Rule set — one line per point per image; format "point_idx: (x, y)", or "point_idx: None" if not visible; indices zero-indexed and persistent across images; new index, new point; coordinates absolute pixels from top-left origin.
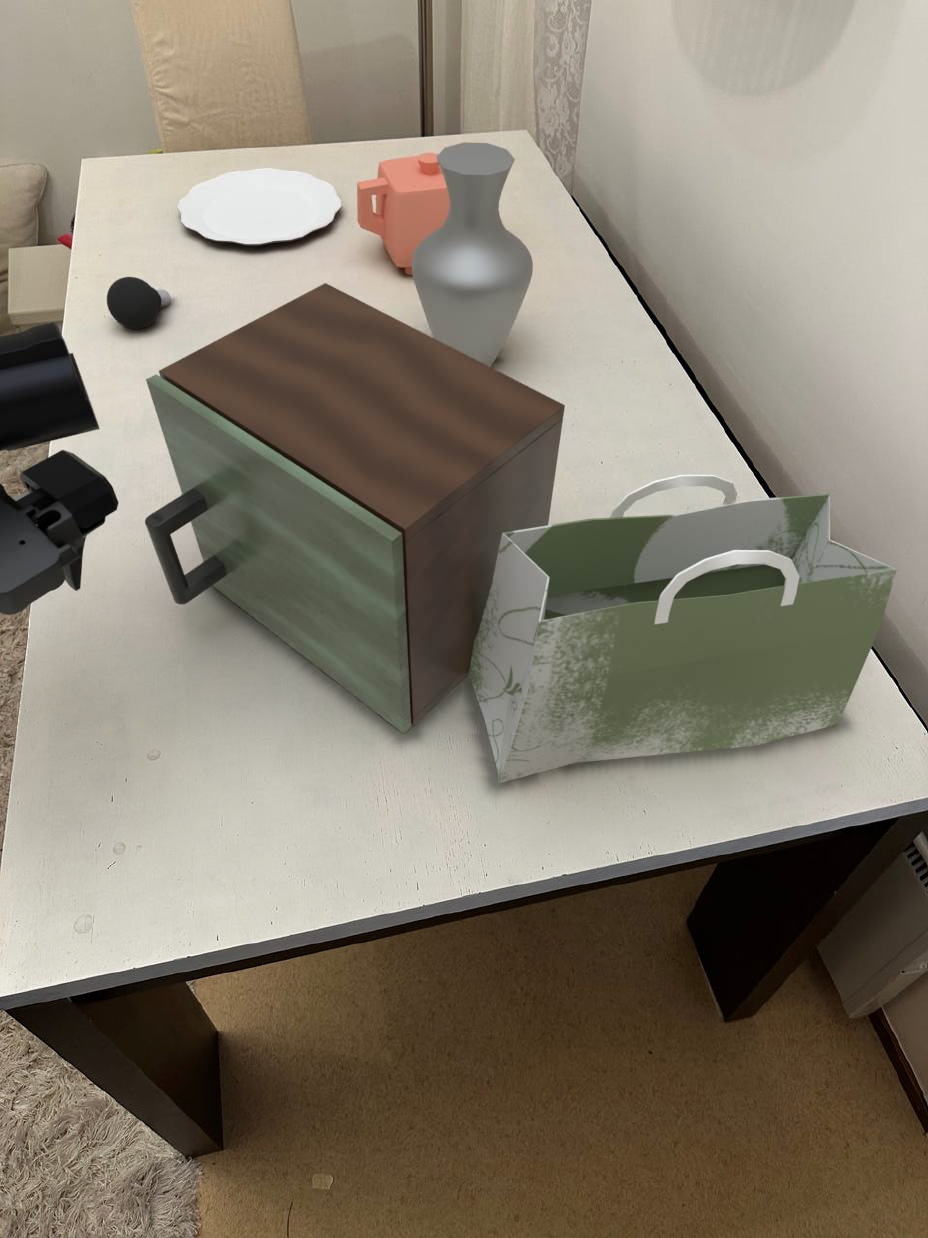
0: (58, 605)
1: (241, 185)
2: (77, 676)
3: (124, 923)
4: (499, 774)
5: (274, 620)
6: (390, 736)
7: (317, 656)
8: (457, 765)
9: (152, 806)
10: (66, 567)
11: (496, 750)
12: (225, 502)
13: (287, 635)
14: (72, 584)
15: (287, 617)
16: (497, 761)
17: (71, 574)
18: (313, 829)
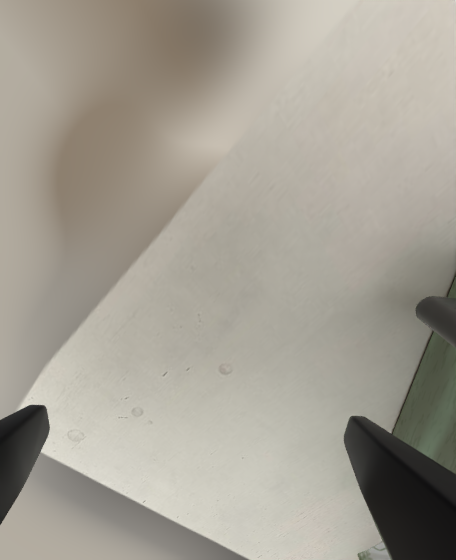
0: (334, 71)
1: None
2: (250, 220)
3: (100, 455)
4: (365, 557)
5: (439, 390)
6: (358, 493)
7: (410, 440)
8: (358, 533)
9: (184, 404)
10: (393, 531)
11: (383, 547)
12: None
13: (424, 397)
14: (354, 461)
15: (450, 438)
16: (375, 549)
17: (377, 525)
18: (252, 498)
